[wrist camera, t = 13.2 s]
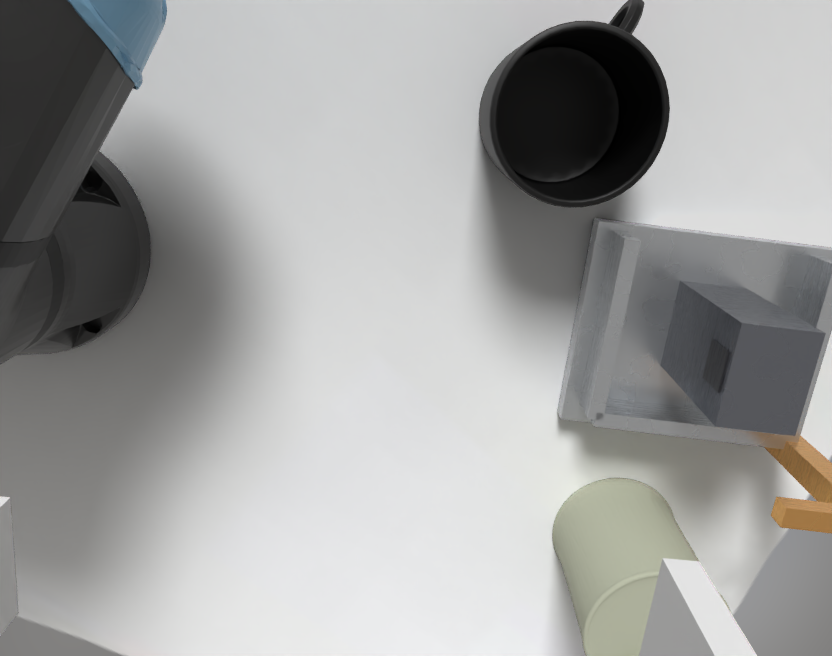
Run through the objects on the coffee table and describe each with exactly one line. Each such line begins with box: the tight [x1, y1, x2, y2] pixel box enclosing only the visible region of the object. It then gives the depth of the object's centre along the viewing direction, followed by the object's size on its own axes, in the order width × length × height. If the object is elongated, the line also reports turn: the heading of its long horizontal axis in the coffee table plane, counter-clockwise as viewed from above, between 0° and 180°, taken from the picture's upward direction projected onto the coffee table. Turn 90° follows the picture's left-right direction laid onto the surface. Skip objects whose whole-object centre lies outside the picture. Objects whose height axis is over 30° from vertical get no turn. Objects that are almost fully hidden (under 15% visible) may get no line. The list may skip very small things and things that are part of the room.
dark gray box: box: [660, 281, 826, 436], centre depth 44 cm, size 5×6×10 cm
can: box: [553, 478, 730, 656], centre depth 50 cm, size 9×9×12 cm
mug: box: [479, 0, 670, 207], centre depth 42 cm, size 9×12×9 cm
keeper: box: [557, 218, 832, 533], centre depth 44 cm, size 16×14×14 cm
